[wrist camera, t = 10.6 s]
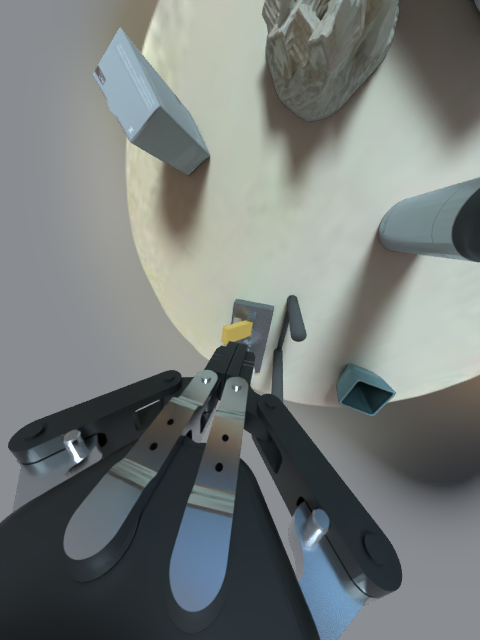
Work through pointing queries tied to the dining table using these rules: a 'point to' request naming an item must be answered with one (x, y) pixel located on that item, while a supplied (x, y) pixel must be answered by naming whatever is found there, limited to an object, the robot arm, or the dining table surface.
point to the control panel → (477, 4)
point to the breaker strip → (254, 326)
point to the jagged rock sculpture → (325, 49)
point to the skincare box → (148, 107)
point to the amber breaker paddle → (236, 331)
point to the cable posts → (296, 334)
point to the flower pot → (363, 390)
